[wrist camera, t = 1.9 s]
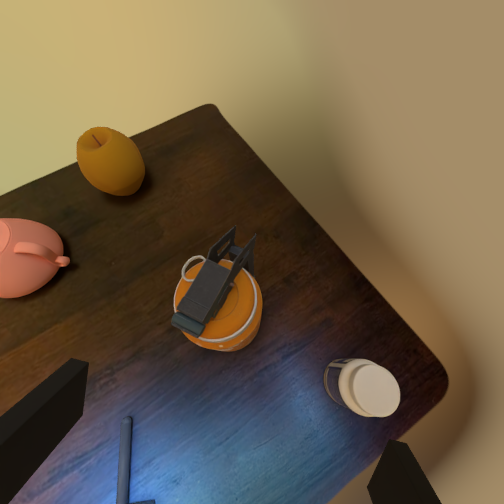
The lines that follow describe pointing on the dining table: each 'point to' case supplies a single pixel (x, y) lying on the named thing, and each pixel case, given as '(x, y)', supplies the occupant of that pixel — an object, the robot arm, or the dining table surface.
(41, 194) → the dining table surface
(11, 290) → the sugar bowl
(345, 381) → the pill bottle
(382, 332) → the dining table surface
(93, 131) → the apple
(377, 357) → the dining table surface
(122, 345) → the dining table surface
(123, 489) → the axe
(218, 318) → the canister
